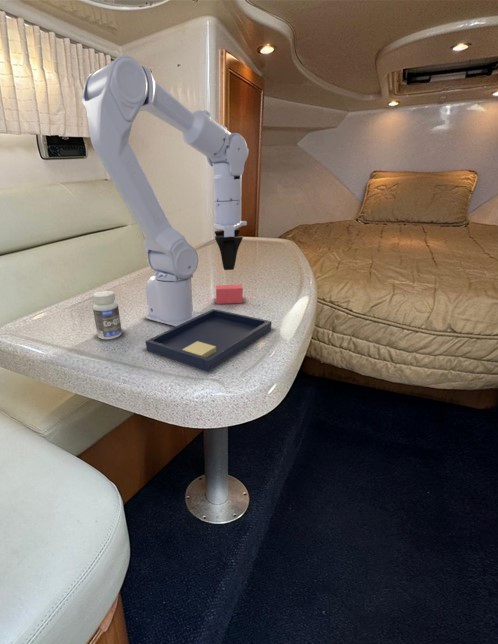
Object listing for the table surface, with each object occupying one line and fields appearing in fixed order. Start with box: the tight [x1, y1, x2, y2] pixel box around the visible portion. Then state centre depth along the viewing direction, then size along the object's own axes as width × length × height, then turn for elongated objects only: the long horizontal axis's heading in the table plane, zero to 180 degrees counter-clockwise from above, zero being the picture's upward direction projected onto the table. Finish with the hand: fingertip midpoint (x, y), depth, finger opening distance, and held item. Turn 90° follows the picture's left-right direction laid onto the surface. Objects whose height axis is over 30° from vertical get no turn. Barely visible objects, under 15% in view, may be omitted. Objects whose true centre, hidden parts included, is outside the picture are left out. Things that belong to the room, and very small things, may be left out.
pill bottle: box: [92, 290, 123, 340], centre depth 69 cm, size 5×5×8 cm
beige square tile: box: [182, 341, 216, 358], centre depth 60 cm, size 4×4×1 cm
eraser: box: [215, 284, 244, 305], centre depth 85 cm, size 6×3×4 cm, turn 86°
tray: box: [145, 308, 272, 372], centre depth 66 cm, size 14×20×2 cm
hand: (228, 265), depth 82 cm, fingers open, 7 cm apart
